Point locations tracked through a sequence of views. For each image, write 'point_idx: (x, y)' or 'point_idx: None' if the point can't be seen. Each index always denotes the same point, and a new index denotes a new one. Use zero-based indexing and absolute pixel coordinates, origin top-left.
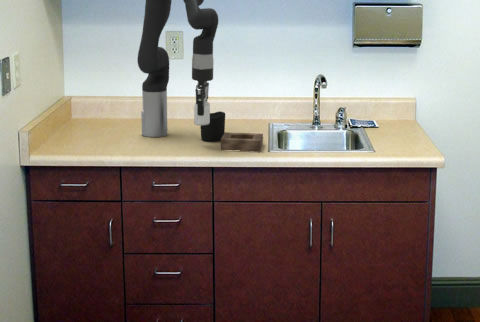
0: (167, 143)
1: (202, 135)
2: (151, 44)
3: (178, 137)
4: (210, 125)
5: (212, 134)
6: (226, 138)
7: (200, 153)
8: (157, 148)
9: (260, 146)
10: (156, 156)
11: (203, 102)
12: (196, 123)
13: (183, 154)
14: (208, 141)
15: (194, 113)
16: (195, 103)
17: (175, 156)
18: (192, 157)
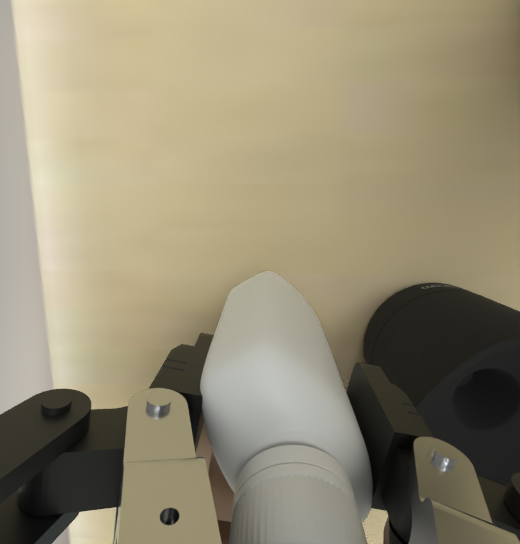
0: (359, 77)
1: (410, 297)
2: None
3: (504, 146)
4: (393, 376)
5: (373, 359)
6: (203, 437)
7: (130, 273)
8: (236, 12)
9: None
10: (47, 15)
11: (37, 520)
12: (229, 292)
13: (104, 181)
14: (371, 320)
15: (257, 300)
16: (256, 366)
17: (58, 136)
18: (46, 231)
